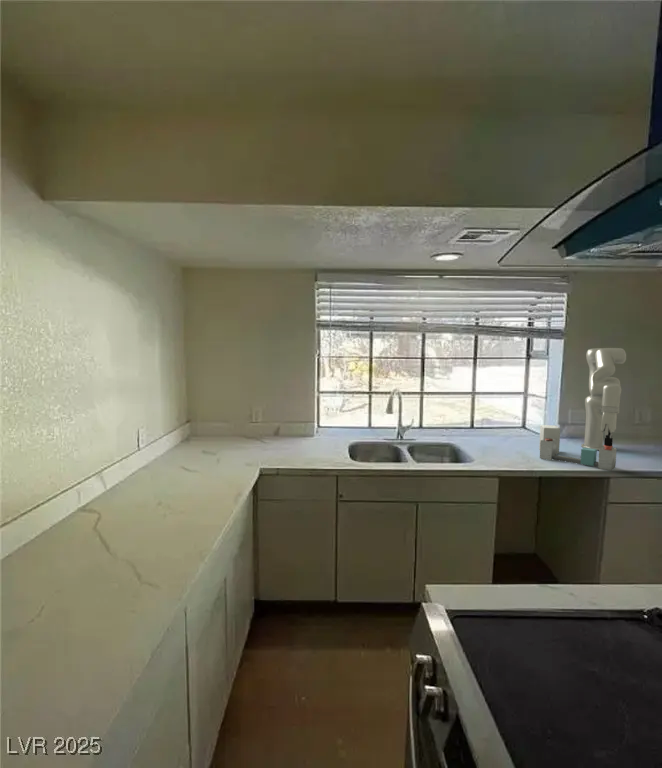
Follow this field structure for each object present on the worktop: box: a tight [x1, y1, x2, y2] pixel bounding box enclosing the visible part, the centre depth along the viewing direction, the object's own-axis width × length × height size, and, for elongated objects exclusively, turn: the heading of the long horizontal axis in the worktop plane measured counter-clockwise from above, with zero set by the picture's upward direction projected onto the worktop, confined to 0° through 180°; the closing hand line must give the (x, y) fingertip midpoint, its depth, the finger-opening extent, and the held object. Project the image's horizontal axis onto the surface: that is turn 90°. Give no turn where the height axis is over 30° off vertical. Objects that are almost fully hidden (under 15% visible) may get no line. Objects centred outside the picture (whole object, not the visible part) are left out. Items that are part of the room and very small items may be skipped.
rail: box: [553, 454, 598, 468], centre depth 246 cm, size 3×22×2 cm, turn 47°
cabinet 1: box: [539, 438, 557, 461], centre depth 255 cm, size 8×6×11 cm
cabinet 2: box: [597, 445, 617, 471], centre depth 236 cm, size 8×6×10 cm
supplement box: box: [538, 424, 561, 455], centre depth 268 cm, size 9×9×15 cm
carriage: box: [580, 447, 598, 467], centre depth 242 cm, size 5×6×8 cm
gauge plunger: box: [603, 444, 614, 450], centre depth 236 cm, size 4×4×5 cm
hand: (608, 445), depth 235 cm, fingers closed
